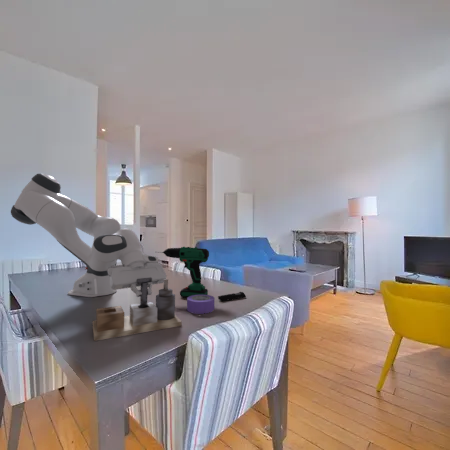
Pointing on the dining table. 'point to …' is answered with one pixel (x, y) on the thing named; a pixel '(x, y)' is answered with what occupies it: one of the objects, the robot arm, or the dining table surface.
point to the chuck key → (144, 290)
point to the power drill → (191, 267)
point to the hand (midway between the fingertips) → (144, 295)
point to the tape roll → (200, 304)
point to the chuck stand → (137, 317)
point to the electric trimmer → (231, 296)
